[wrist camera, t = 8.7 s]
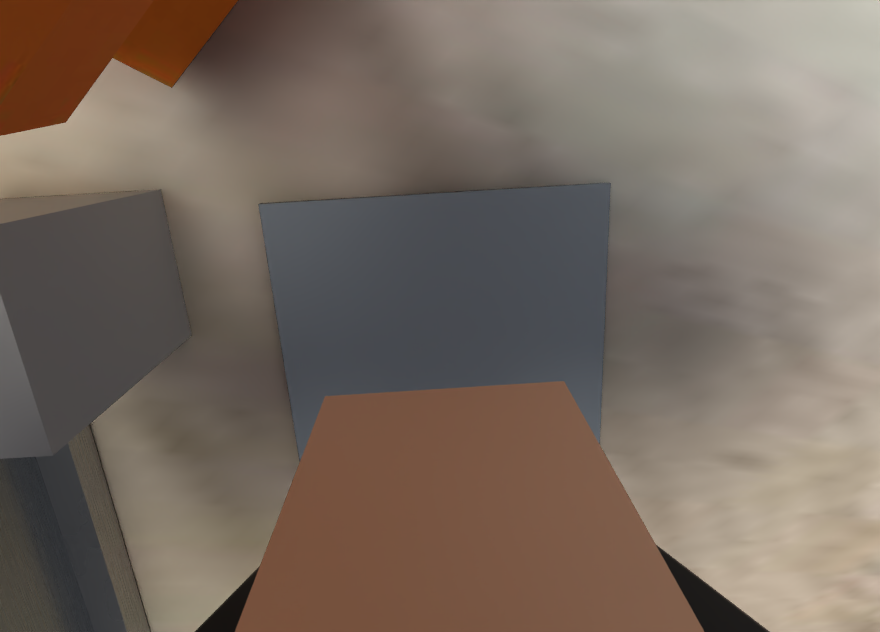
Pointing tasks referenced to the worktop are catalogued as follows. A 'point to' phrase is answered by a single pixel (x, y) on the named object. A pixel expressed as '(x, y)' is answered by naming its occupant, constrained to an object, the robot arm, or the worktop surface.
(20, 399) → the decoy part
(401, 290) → the mat
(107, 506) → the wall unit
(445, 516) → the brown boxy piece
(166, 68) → the alarm clock
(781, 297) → the worktop surface
